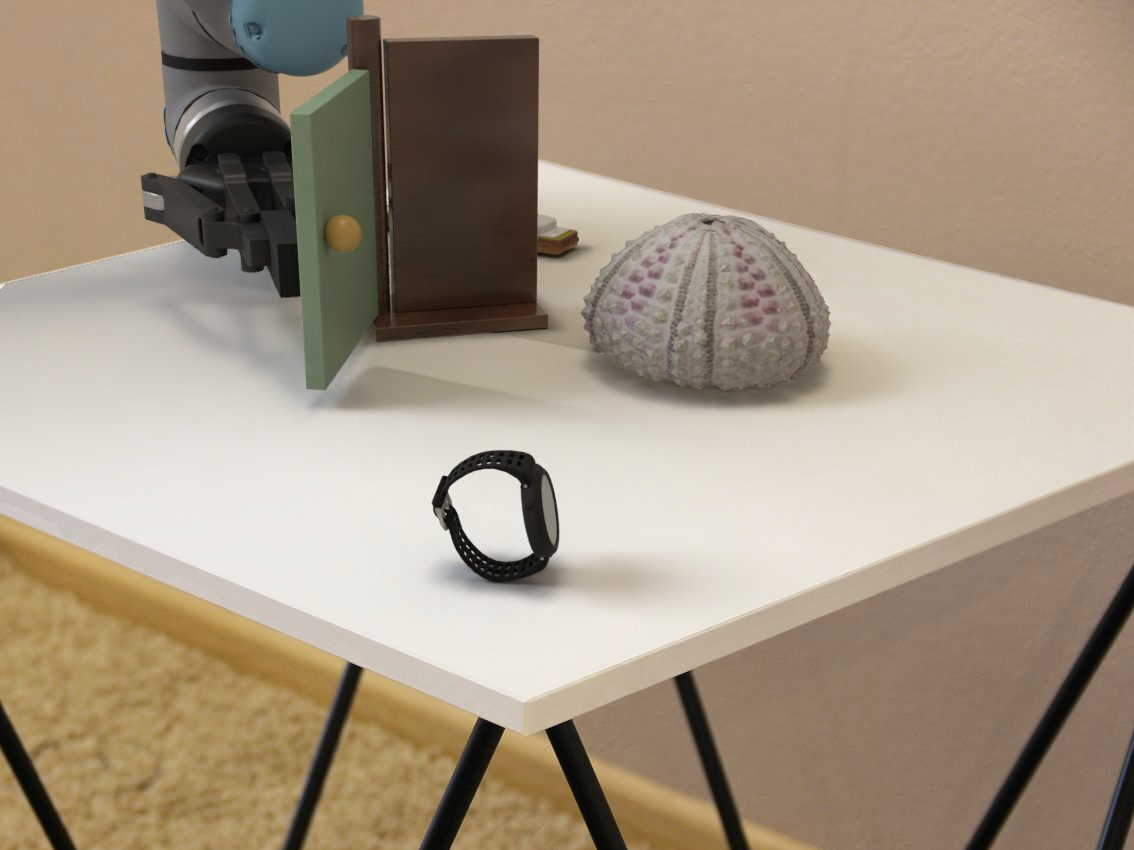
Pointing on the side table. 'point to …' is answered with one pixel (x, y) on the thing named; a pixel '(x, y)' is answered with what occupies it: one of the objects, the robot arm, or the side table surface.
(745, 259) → the sea urchin shell
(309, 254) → the door
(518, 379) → the side table surface
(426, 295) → the door frame
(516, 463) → the smartwatch
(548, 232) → the harmonica
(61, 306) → the side table surface
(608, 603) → the side table surface
